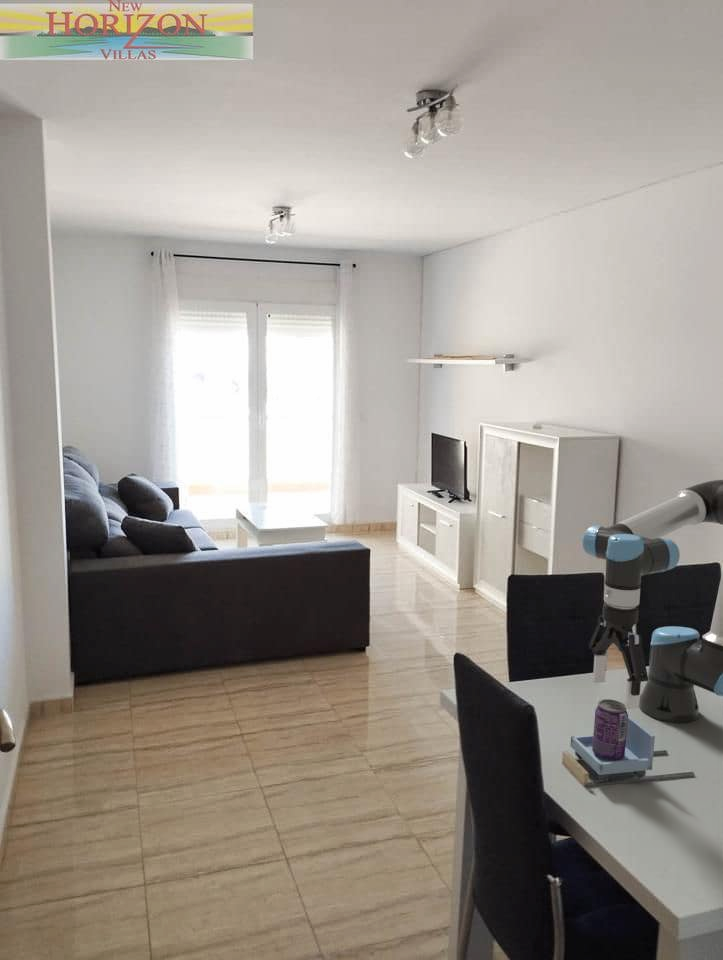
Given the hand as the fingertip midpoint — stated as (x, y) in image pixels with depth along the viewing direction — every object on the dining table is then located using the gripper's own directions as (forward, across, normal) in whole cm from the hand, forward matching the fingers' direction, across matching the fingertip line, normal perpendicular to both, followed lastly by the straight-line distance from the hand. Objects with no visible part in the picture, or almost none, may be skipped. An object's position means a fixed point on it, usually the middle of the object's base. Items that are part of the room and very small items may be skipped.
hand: (614, 694), depth 172 cm
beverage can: (+15, 0, -1) cm, 15 cm away
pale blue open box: (+19, 0, 0) cm, 19 cm away
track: (+19, 0, +5) cm, 19 cm away
